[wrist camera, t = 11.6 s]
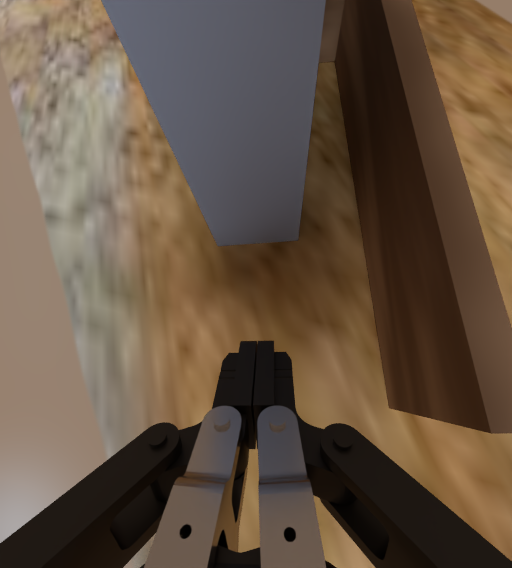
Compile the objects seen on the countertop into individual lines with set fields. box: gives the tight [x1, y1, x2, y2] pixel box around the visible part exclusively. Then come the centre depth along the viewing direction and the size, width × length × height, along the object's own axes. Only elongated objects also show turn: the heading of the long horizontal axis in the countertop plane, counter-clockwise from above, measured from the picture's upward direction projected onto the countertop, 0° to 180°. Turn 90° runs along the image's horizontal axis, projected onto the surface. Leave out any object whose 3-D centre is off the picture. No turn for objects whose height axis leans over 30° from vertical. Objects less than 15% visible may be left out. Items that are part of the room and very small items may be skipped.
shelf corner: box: [319, 0, 512, 433], centre depth 17 cm, size 12×32×12 cm, turn 2°
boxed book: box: [101, 0, 326, 246], centre depth 16 cm, size 6×14×16 cm, turn 2°
